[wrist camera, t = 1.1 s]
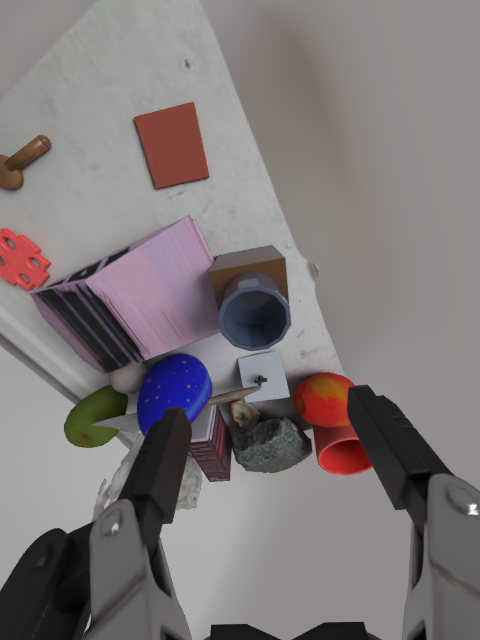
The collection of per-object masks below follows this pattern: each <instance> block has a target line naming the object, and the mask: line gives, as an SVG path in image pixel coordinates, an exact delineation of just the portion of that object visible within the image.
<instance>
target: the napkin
mask: <svg viewBox="0 0 480 640" xmlns="http://www.w3.org/2000/svg"><path fill="white" fill-rule="evenodd" d="M134 119H135V122H136V125H137V129H138V132H139V135H140V138H141V142H142V145H143V148H144V151H145V155H146V158H147V161H148V164H149V168H150V171H151V174H152V177H153V180H154V184H155V187H156V189H159V188H164V187H168V186H173V185H177V184H182V183H186V182H191V181H195V180H200V179H204V178H209V173H208V168H207V164H206V159H205V154H204V149H203V144H202V139H201V134H200V130H199V125H198V120H197V115H196V110H195V105H194V102H191V103H187V104H183V105H179V106H175V107H171V108H167V109H164V110H160V111H156V112H152V113H148V114H144V115H140V116H137V117H134Z"/></svg>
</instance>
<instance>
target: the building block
mask: <svg viewBox="0 0 480 640" xmlns="http://www.w3.org/2000/svg"><path fill="white" fill-rule="evenodd" d="M7 238H10V239H11V240H12V241H13V242H14V244H15V248H14V249H13V248H11V247H9V246H8V244H7V242H6V239H7ZM40 251H41V249H40V248H39V247H37V246H36V245H35V244H34V243H32V242H31V241H30V240H29V239H27V238H26V237H25V236H24V235H19V236H16V235H15V234H14V233H12V232H11V231H10V230H9V229H7V228H4V229H1V231H0V257H2V258H3V260H4V262H5V265H2V264H0V277H2V278H3V279H5V280H6V281H7V282H9V283H10V284H12V285H13V286H14V285H20V286H21V287H23V288H24V289H25V290H27V291H30V290H32V289H33V288H34V286H35V285H36V286H37V287H41V286H43V284H44V283H45V282H46V280H47V279H48V278H49V276H50V275H49V274H48V273H47V272H45V271H46V269H47V268H48V267H49V265H50V264H51V263H50V262H49V261H48V260H46V259H45V258H44V257H43V256H41V255H40V254H39V252H40ZM31 258H35V259H37V260H38V262H39V263H40V267H39V268H38V267H35V266H34V265H33V264H32V262H31ZM21 274H24V275H26V276H27V277H28V279H29V283H26V282H25V281H23V280H22V278H21Z"/></svg>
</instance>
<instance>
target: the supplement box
mask: <svg viewBox="0 0 480 640" xmlns="http://www.w3.org/2000/svg"><path fill="white" fill-rule="evenodd" d="M191 427H192V439H191V444H190V448H189V451H190V452H191V454H192V456H193V457H194V459H195V460H196V462H197V463H198V465H199V466H200V468H201V469H202V471H203V472H204V474H205V475H206V477H207V478H208V480H209V481H210V482H214V481H230V467H231V450H232V442H233V439H232V437H231V435H230V433H229V430H228V428H227V426H226V424H225V421H224V419H223V417H222V415H221V413H220V410H219V408H218V406H217V405H212V406H209V407H207V408H205V409H203V410H202V411H201V413H200V414H199V416H198V417H197V419H196V420H195V421H194V422H193V423H192V424H191Z"/></svg>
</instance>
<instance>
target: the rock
mask: <svg viewBox="0 0 480 640" xmlns="http://www.w3.org/2000/svg"><path fill="white" fill-rule="evenodd" d="M232 447H233V452H234V455H235V459H236V461H237V463H238V464H241V465H242V466H243V468H244V469H245V470H246V471H252V472H264V473H267V472H269V473H275V472H279V471H282V470H286V469H288V468H291V467H292V466H294V465H296V464H298V463H299V462H301V461H302V460H304V459H305V458H307V457H308V456H309V455H310V454H311V453H312V444H311V439H309V438H308V437H307V436H306V434H305V433H304V432H303V431H302V430H301V429H300V428H298V427H297V425H296V424H295V423H293V422H292V421H291V420H290V419H288V418H286V417H284V416H283V417H278V418H276V419H269V420H268V421H266V422H260V423H259V424H257V425H256V426H253V427H250V428H247V429H244V430H242V431H241V432H240V434H239V435H238V436H237V437H236V438H235V440H234V441H233V443H232Z"/></svg>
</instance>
